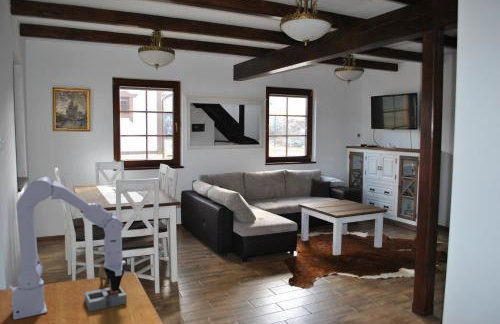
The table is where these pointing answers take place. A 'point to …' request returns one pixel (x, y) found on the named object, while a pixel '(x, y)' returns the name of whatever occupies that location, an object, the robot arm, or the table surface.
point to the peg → (113, 291)
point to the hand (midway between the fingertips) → (114, 288)
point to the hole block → (104, 299)
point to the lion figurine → (102, 275)
